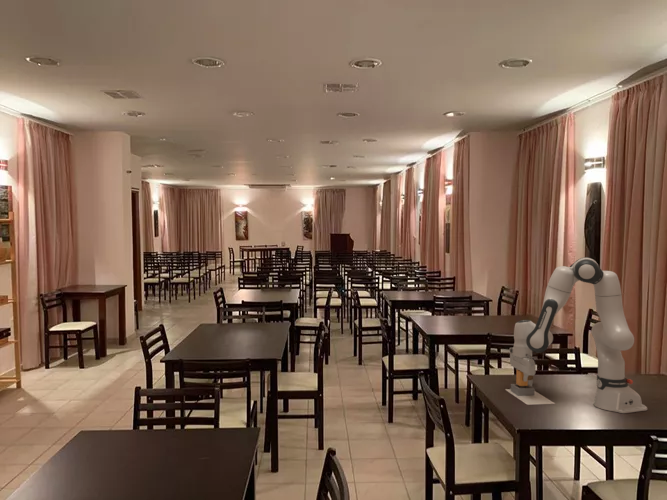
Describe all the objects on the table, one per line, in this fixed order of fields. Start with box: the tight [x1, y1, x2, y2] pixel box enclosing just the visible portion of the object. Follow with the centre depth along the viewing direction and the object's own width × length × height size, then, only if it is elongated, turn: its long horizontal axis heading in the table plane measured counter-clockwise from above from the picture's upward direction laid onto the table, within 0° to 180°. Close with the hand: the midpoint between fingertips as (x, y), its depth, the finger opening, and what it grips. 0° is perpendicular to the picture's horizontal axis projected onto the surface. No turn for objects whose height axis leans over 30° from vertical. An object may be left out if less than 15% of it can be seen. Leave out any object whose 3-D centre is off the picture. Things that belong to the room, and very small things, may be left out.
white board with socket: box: [504, 383, 556, 406], centre depth 258 cm, size 14×24×4 cm, turn 6°
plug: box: [515, 370, 528, 386], centre depth 263 cm, size 4×4×9 cm
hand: (522, 379), depth 263 cm, fingers closed on plug, 4 cm apart
